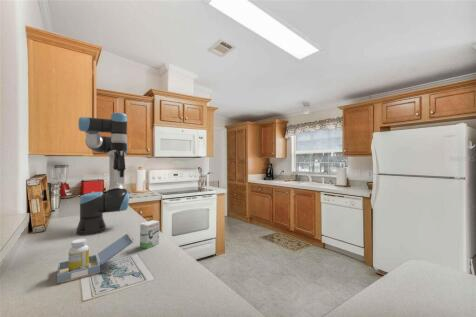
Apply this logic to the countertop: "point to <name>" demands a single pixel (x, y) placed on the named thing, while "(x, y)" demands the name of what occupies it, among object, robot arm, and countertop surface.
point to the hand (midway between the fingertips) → (118, 182)
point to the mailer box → (65, 275)
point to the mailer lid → (115, 248)
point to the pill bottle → (78, 255)
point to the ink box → (149, 234)
